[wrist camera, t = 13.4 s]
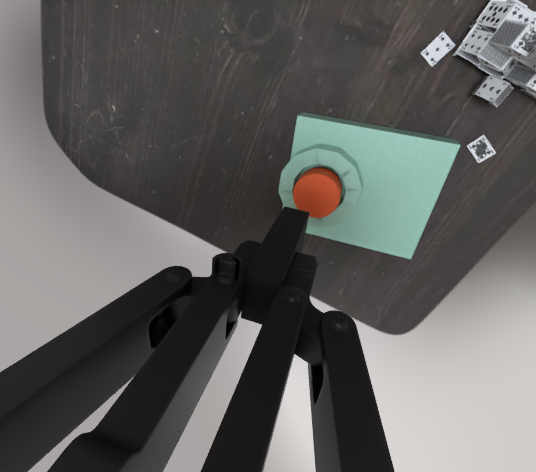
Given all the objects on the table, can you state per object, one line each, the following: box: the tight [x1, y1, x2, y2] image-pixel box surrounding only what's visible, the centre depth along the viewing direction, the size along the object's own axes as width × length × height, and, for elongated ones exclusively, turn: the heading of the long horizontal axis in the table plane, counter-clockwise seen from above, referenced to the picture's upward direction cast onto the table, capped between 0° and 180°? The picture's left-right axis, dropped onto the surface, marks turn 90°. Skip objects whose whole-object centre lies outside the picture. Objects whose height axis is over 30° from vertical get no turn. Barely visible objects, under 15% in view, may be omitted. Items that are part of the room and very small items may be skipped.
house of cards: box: [420, 0, 536, 163], centre depth 19 cm, size 9×9×8 cm
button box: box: [278, 112, 460, 259], centre depth 26 cm, size 12×10×4 cm
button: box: [293, 167, 342, 218], centre depth 24 cm, size 4×4×2 cm
